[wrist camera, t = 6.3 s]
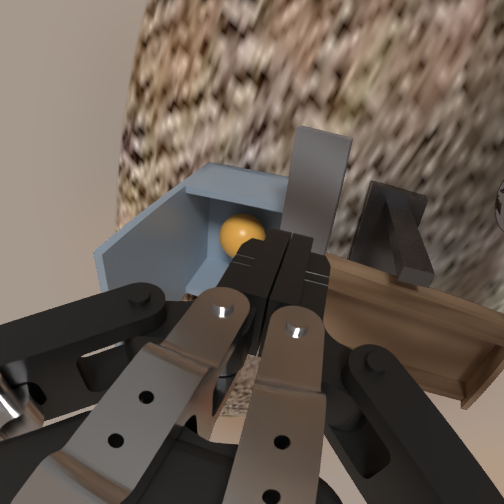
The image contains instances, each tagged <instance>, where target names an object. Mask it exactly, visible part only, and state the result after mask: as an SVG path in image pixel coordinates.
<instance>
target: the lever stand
mask: <svg viewBox="0 0 504 504" xmlns="http://www.w3.org/2000/svg"><path fill="white" fill-rule="evenodd" d="M427 201H428V199H427V198H426V196H425V195H421V194H418V193H415V192H411V191H408V190H404V189H401V188H397V187H394V186H390V185H387V184H383V183H379V182H376V181H372V180H371V183H370V187H369V191H368V195H367V198H366V202H365V206H364V209H363V213H362V216H361V220H360V223H359V227H358V230H357V234H356V237H355V240H354V244H353V247H352V250H351V253H350V257H349V260H350V261H353V262H356V263H359V264H362V265H365V266H368V267H371V268H374V269H377V270H380V271H383V272H386V273H389V274H392V275H395V276H397V279H398V281H402V282H406V283H410V284H414V285H418V286H422V287H426V288H428V287H429V285H430V283H431V281H432V278H433V276H434V271H433V268H432V265H431V262H430V260H429V257H428V254H427V251H426V249H425V246H424V243H423V241H422V238H421V236H420V233H419V230H418V227H419V224H420V221H421V219H422V216H423V213H424V210H425V207H426V204H427Z"/></svg>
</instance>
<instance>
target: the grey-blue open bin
mask: <svg viewBox="0 0 504 504" xmlns="http://www.w3.org/2000/svg"><path fill="white" fill-rule="evenodd" d="M288 178H289V177H285V176H281V175H276V174H271V173H266V172H261V171H255V170H250V169H245V168H239V167H234V166H228V165H222V164H216V163H210V162H209V163H208V164H206V165H205V166H203V167H202V168H200V169H199V170H198V171H196V172H195V173H193V174H192V175H191V176H189V177H188V178H186V179H185V180H184V181H182V182H181V183H180V184H178V185H177V186H175V187H174V188H173V189H171V190H170V191H169V192H167V193H166V194H165V195H163V196H162V197H161V198H159V199H158V200H157V201H155V202H154V203H153V204H152V205H150V206H149V207H148V208H146V209H145V210H144V211H143V212H141V213H140V214H139V215H137V216H136V217H135V218H134V219H132V220H131V221H130V222H129V223H127V224H126V225H125V226H124V227H122V228H121V229H120V230H119V231H118V232H116V233H115V234H114V235H113V236H112V237H110V238H109V239H108V240H107V241H106V242H104V243H103V244H102V245H101V246H99V247H98V248H97V249H96V250H95V251H94V252H93V253H94V259H95V264H96V269H97V274H98V278H99V284H100V288H101V292H102V293H103V292H106V291H109V290H113V289H116V288H119V287H122V286H125V285H129V284H132V283H138V282H145V283H151V284H154V285H156V286H158V287H159V288H160V289H162V291H163V292H164V294H165V298H166V300H167V301H180V300H181V299H182V297H183V296H184V294H185V293H189V294H192V295H196V296H199V295H200V294H201V293H202V292H204V291H205V290H207V289H210V288H215V287H216V286H217V284H218V283H219V281H220V279H221V278H222V276H223V274H224V273H225V271H226V269H227V268H228V266H229V264H230V263H231V262H232V259H233V258H232V257H230V256H229V255H228V254H226V253H225V251H224V250H223V249H222V247H221V244H220V241H219V232H220V229H221V226H222V225H223V223H224V222H225V221H226V220H227V219H228V218H229V217H231V216H232V215H235V214H239V213H246V214H250V215H253V216H254V217H256V218H257V219H258V220H259V221H260V222H261V223H262V224H263V226H264V229H265V232H266V236H267V234H268V232H269V230H270V228H275V229H279V230H280V226H281V220H282V214H283V208H284V203H285V197H286V191H287V185H288ZM120 345H123V341H122V342H119V343H116V344H115V347H117V346H120Z"/></svg>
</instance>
